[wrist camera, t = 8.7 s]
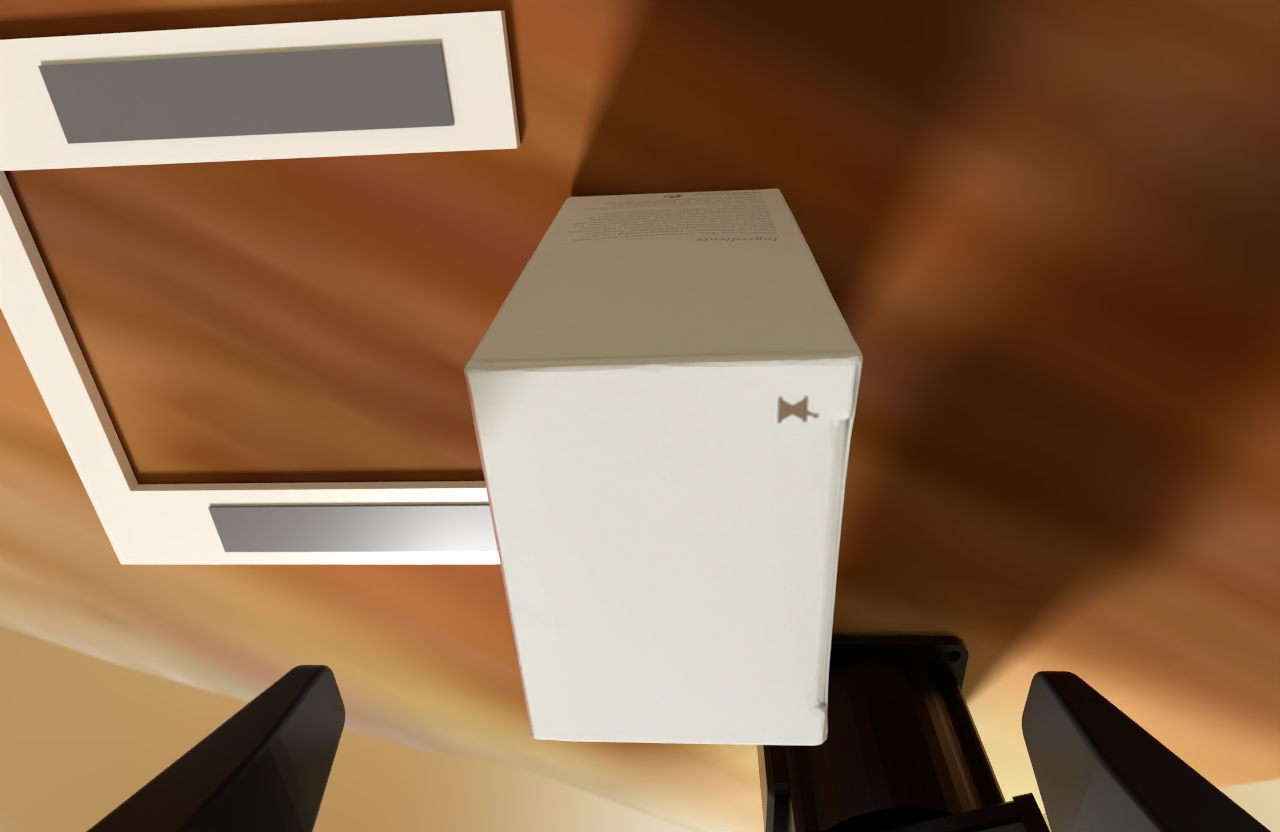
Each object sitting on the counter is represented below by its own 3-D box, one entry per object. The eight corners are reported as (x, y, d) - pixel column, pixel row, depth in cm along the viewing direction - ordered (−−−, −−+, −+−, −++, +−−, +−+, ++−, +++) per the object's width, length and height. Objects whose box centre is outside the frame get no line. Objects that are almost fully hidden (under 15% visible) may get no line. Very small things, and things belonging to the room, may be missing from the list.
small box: (565, 192, 20) (451, 353, 10) (784, 183, 19) (870, 343, 10) (590, 457, 23) (523, 750, 14) (774, 455, 23) (829, 757, 14)
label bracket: (504, 10, 18) (499, 10, 17) (569, 556, 25) (566, 566, 25) (-108, 46, 19) (-127, 47, 18) (128, 556, 26) (119, 566, 26)
